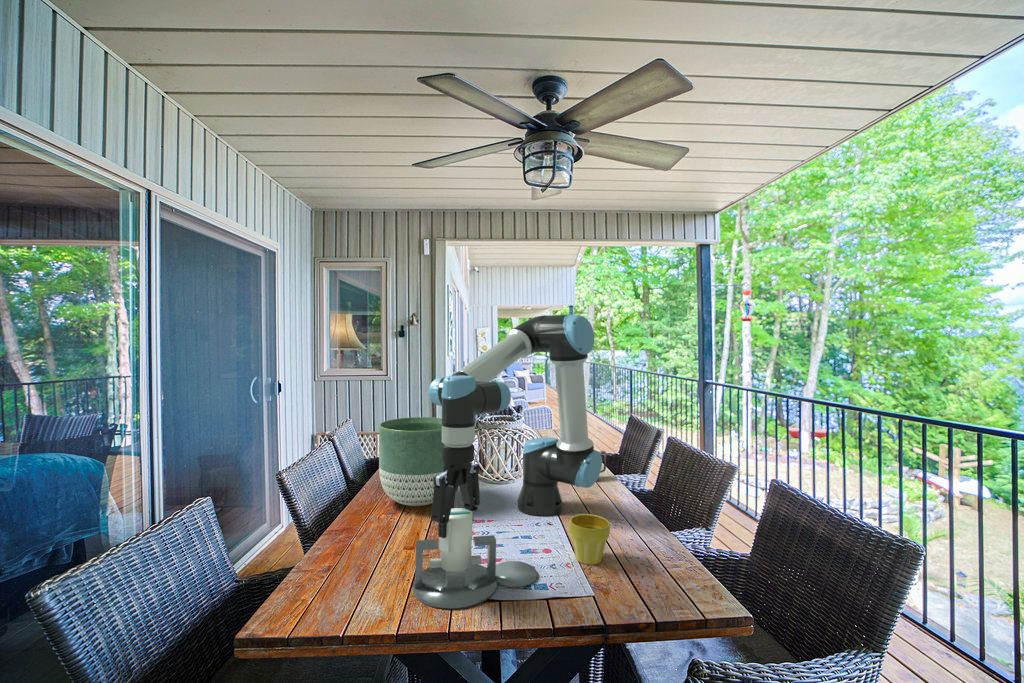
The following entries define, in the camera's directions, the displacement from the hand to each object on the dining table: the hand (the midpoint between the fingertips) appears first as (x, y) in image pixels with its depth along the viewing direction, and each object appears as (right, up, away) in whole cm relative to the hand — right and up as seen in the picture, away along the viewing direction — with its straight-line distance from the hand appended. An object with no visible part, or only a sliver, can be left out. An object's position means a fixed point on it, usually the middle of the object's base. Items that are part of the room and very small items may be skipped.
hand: (456, 544), depth 105 cm
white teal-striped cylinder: (0, -5, 0) cm, 5 cm away
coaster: (+13, -10, +5) cm, 17 cm away
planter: (-20, -9, +53) cm, 57 cm away
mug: (+46, -10, +82) cm, 95 cm away
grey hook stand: (0, -9, 0) cm, 9 cm away
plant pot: (+33, -10, +14) cm, 37 cm away
